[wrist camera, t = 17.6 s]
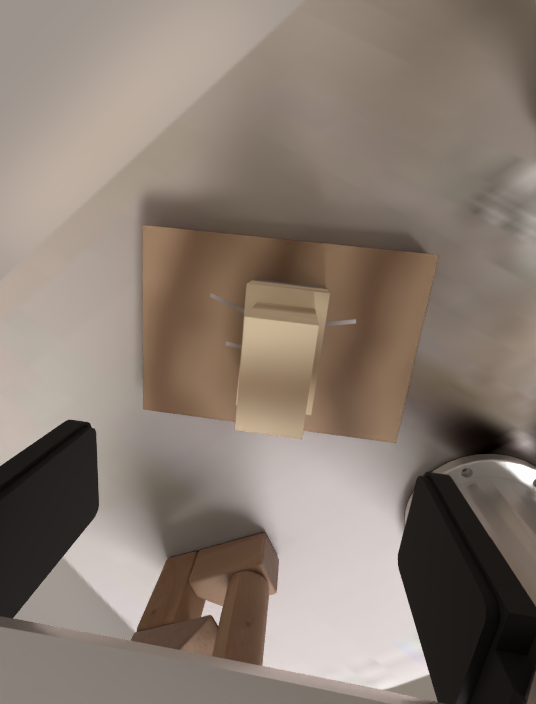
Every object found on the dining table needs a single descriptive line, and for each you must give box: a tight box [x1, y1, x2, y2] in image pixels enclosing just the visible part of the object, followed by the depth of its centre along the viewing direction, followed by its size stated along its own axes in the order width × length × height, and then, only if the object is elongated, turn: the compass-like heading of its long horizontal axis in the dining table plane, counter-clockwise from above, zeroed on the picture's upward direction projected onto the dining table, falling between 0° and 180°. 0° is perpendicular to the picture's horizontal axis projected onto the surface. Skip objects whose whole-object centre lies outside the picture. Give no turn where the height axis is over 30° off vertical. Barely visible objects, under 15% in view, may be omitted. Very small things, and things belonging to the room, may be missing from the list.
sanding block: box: [235, 279, 330, 439], centre depth 22 cm, size 8×5×9 cm, turn 174°
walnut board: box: [142, 225, 439, 443], centre depth 27 cm, size 20×14×2 cm
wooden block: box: [131, 533, 279, 666], centre depth 26 cm, size 4×11×18 cm, turn 113°
